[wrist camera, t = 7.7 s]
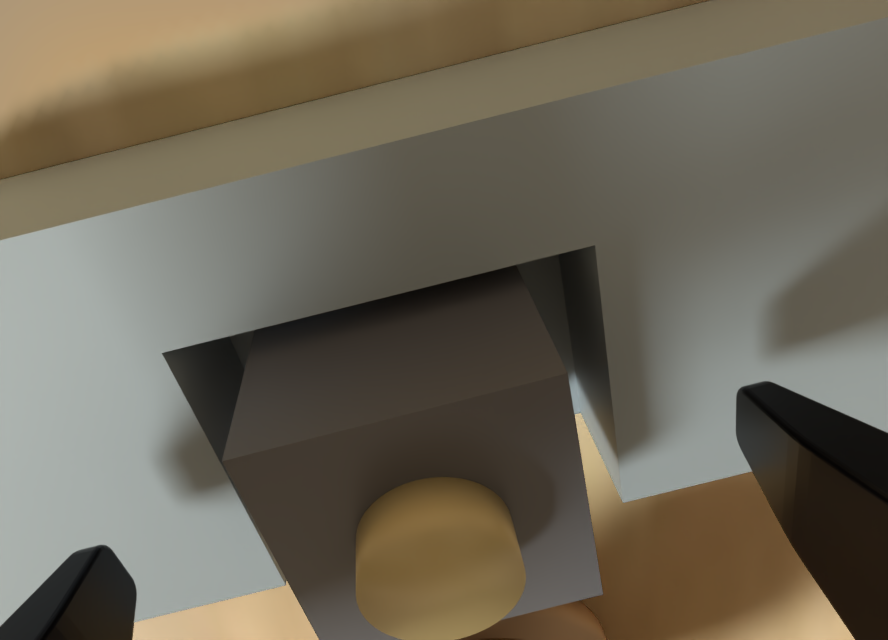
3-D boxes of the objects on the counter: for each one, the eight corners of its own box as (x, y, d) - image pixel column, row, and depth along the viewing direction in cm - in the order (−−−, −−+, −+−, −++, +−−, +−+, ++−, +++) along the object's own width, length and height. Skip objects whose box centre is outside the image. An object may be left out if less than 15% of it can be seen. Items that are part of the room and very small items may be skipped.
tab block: (531, 402, 13) (622, 646, 9) (338, 451, 13) (329, 718, 9) (494, 221, 11) (589, 418, 7) (267, 280, 11) (209, 514, 7)
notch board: (816, -27, 11) (993, -10, 8) (791, 328, 14) (906, 433, 11) (-131, 212, 11) (-313, 319, 8) (78, 504, 15) (8, 653, 12)
